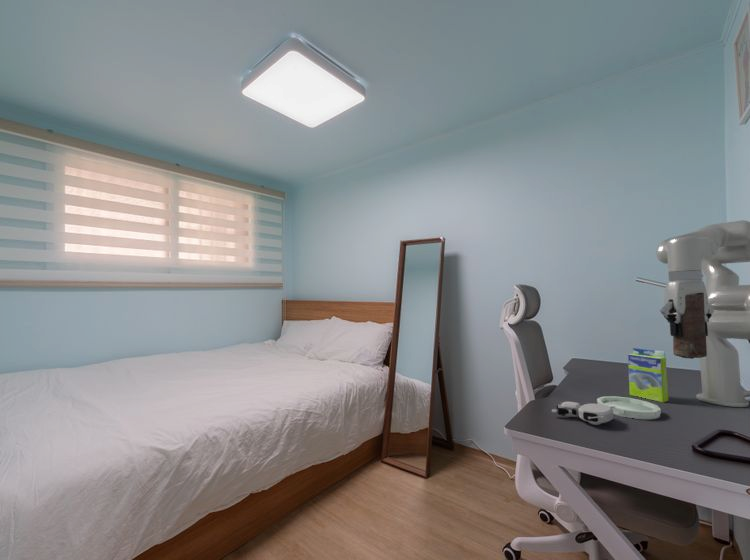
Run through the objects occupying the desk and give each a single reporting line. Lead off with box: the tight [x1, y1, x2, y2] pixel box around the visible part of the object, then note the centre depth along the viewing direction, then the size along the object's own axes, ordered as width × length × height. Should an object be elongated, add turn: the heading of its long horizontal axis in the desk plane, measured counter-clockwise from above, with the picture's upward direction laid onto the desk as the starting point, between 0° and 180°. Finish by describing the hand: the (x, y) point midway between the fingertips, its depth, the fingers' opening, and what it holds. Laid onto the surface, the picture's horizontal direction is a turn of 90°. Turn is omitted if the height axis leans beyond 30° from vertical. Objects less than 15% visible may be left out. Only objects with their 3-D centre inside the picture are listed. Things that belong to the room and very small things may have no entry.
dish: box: [596, 395, 662, 421], centre depth 107 cm, size 16×16×2 cm
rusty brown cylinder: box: [672, 292, 707, 360], centre depth 101 cm, size 8×7×20 cm
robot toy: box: [551, 400, 615, 426], centre depth 101 cm, size 12×4×15 cm
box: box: [627, 347, 669, 403], centre depth 121 cm, size 10×4×17 cm, turn 28°
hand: (689, 335), depth 100 cm, fingers closed on rusty brown cylinder, 7 cm apart
